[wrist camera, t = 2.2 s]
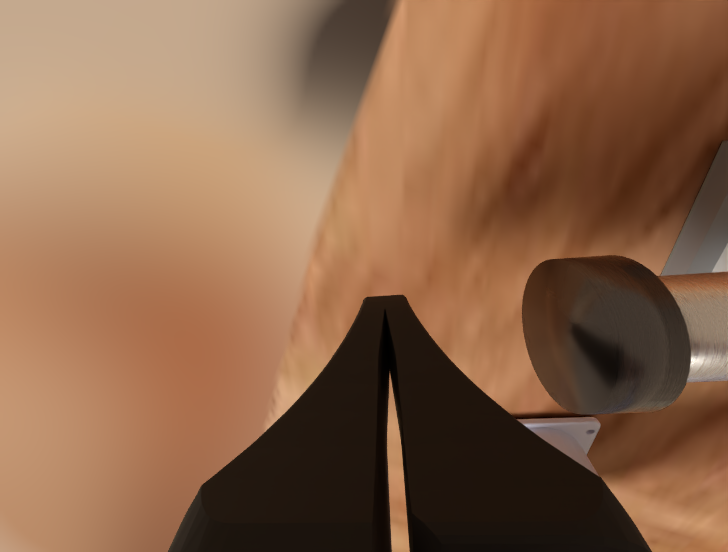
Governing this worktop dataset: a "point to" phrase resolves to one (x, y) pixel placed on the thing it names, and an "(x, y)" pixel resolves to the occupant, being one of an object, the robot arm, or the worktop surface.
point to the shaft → (623, 333)
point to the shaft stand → (705, 226)
